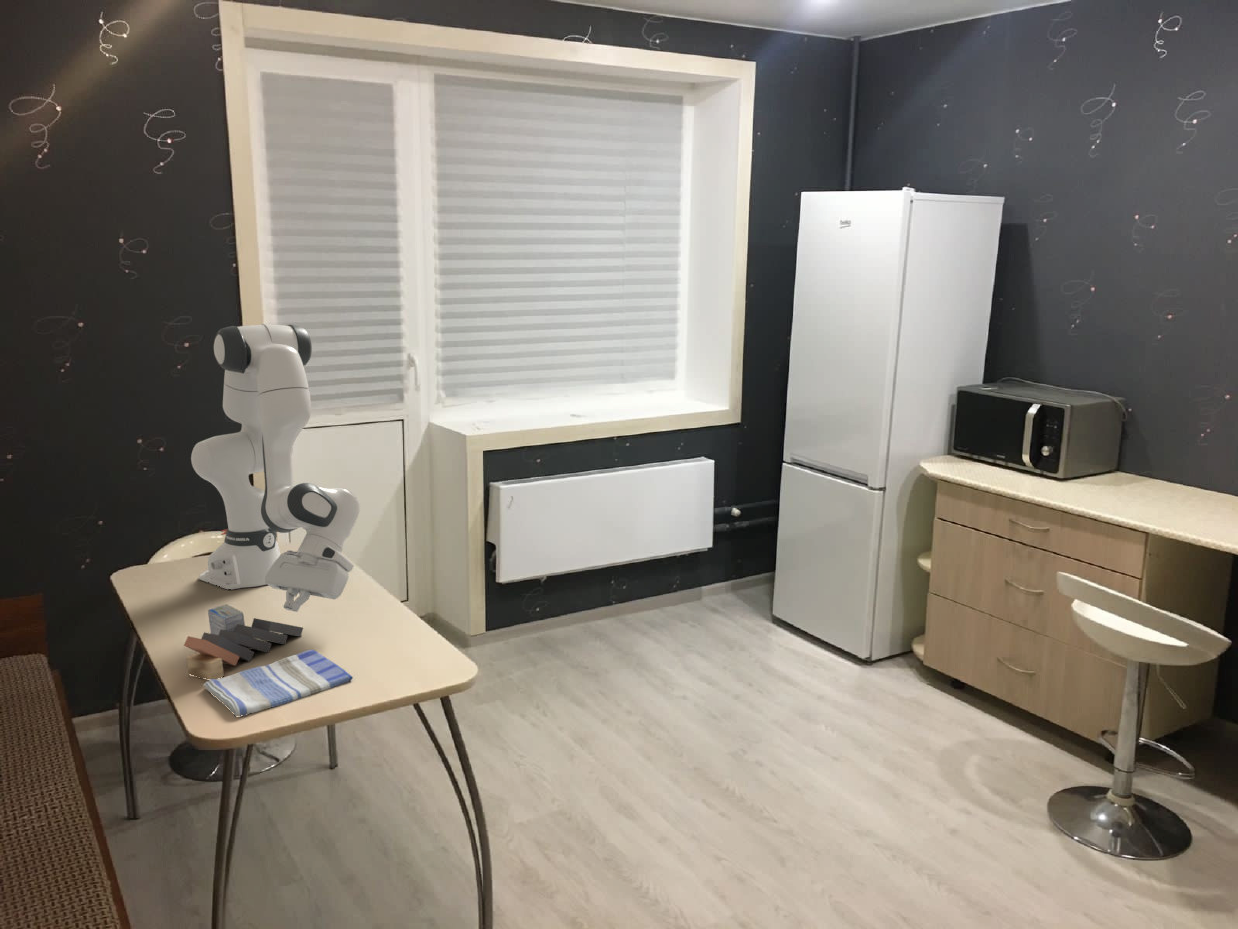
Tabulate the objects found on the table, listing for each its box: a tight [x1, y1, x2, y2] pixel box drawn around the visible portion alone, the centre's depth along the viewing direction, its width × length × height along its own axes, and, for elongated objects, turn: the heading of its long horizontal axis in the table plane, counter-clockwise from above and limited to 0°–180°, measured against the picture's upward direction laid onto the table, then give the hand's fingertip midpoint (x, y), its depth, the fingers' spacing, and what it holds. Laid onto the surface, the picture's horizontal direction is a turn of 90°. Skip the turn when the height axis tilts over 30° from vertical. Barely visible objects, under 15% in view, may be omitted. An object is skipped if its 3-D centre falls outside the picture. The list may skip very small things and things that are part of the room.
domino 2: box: [200, 631, 255, 662], centre depth 198 cm, size 5×2×10 cm
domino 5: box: [251, 618, 304, 637], centre depth 210 cm, size 5×2×10 cm
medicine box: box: [207, 604, 249, 649], centre depth 207 cm, size 8×4×9 cm, turn 47°
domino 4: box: [235, 624, 289, 645], centre depth 206 cm, size 5×2×10 cm
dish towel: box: [202, 649, 353, 717], centre depth 189 cm, size 17×24×3 cm
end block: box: [186, 652, 225, 679], centre depth 193 cm, size 7×2×4 cm, turn 64°
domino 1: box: [183, 635, 240, 667], centre depth 195 cm, size 5×2×10 cm
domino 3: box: [219, 629, 273, 653], centre depth 202 cm, size 5×2×10 cm
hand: (290, 609), depth 213 cm, fingers closed
